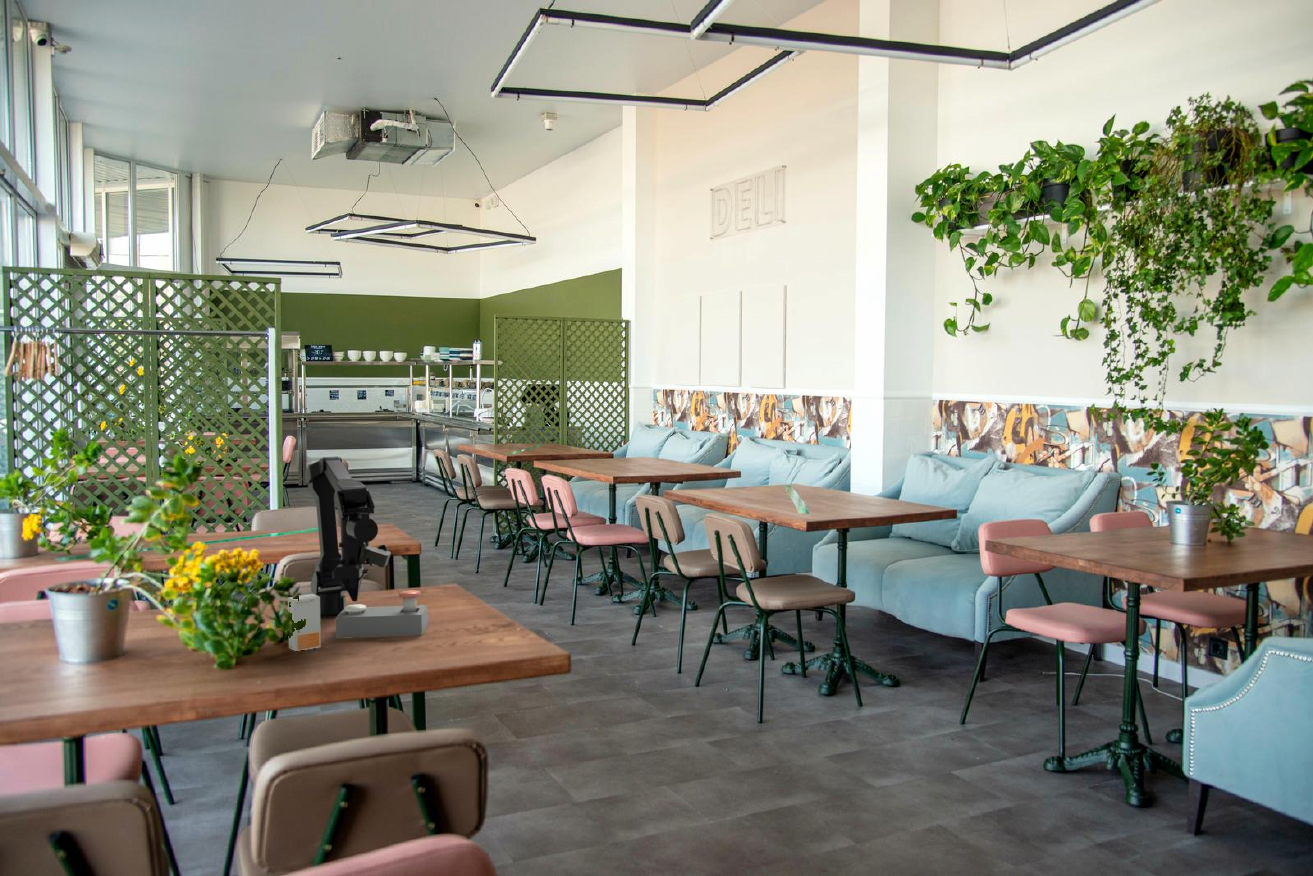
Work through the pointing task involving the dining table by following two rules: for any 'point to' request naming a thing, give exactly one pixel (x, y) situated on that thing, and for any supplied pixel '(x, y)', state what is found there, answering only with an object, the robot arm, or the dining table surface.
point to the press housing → (382, 622)
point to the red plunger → (409, 600)
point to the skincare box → (311, 612)
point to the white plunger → (355, 609)
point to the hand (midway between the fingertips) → (355, 601)
